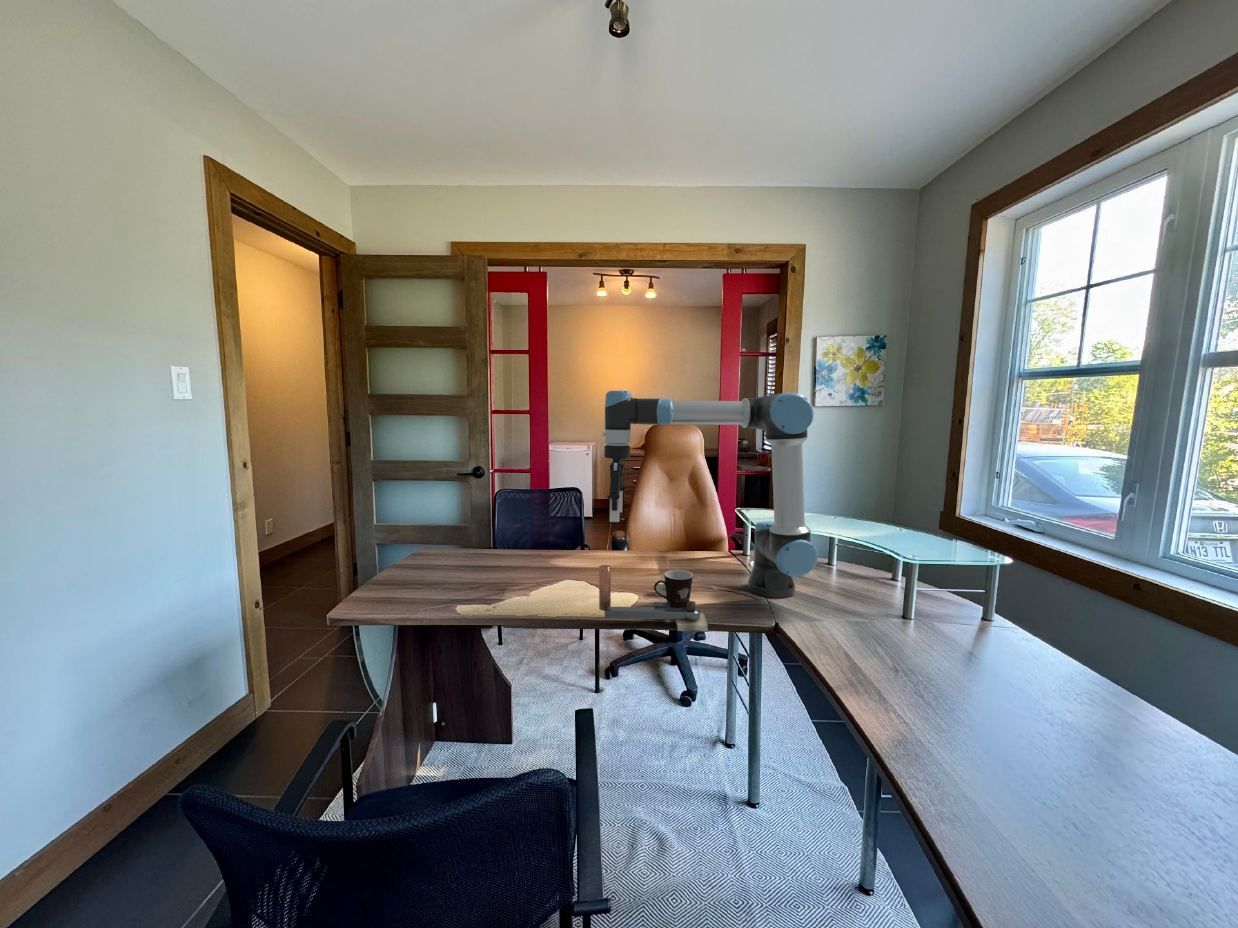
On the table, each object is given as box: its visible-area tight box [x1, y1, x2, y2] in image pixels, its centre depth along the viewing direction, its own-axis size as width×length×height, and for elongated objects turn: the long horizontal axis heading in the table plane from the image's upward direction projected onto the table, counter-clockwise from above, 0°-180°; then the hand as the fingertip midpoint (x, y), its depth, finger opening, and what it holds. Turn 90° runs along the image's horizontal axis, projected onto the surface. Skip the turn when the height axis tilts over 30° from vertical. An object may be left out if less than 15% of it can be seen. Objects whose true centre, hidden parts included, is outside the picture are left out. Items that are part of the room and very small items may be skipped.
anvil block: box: [654, 580, 667, 597], centre depth 151 cm, size 10×3×4 cm, turn 88°
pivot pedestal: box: [675, 600, 709, 632], centre depth 129 cm, size 8×8×6 cm
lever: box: [598, 564, 701, 621], centre depth 130 cm, size 28×6×14 cm, turn 88°
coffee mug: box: [653, 569, 694, 608], centre depth 142 cm, size 12×9×10 cm
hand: (616, 516), depth 137 cm, fingers open, 13 cm apart
